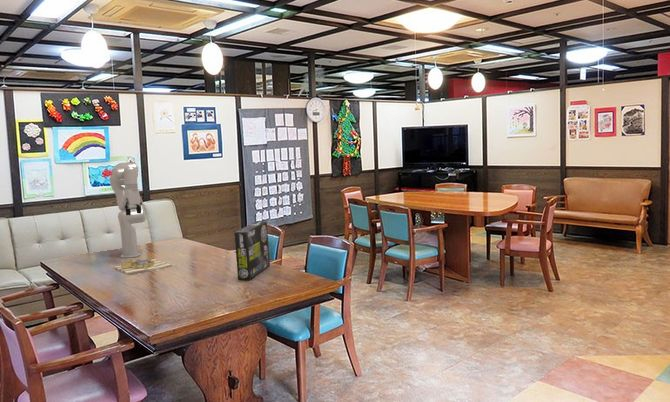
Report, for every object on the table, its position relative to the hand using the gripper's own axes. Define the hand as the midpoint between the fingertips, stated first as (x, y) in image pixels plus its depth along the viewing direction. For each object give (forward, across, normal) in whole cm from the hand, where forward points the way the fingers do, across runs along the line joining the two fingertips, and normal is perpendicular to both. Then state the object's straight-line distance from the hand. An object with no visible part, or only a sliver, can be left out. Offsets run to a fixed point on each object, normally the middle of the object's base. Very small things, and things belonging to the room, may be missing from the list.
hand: (133, 214), depth 331 cm
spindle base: (+32, +8, +10) cm, 35 cm away
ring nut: (+31, +10, +9) cm, 33 cm away
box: (+34, +8, +87) cm, 94 cm away
